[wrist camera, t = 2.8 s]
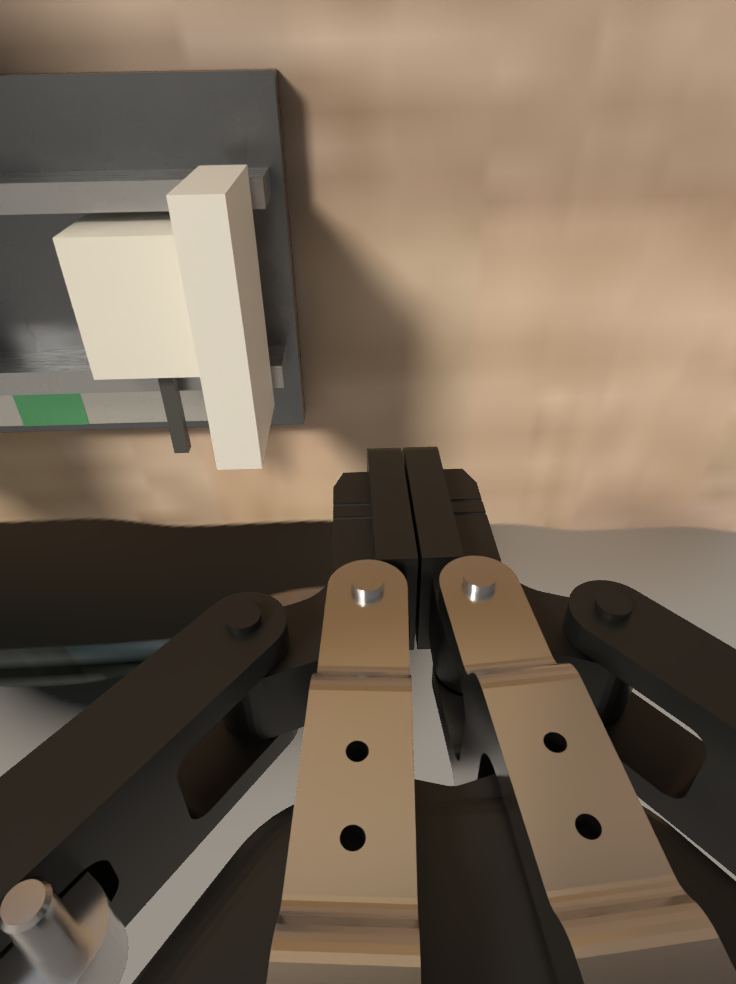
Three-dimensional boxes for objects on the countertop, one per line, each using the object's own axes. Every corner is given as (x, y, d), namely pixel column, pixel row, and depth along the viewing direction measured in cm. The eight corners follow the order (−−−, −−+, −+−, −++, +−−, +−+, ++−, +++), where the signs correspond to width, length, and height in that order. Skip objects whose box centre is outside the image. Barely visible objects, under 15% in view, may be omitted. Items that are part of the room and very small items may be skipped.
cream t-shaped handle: (255, 153, 23) (225, 194, 17) (283, 416, 29) (268, 510, 24) (73, 157, 23) (-20, 199, 17) (141, 420, 29) (90, 515, 24)
